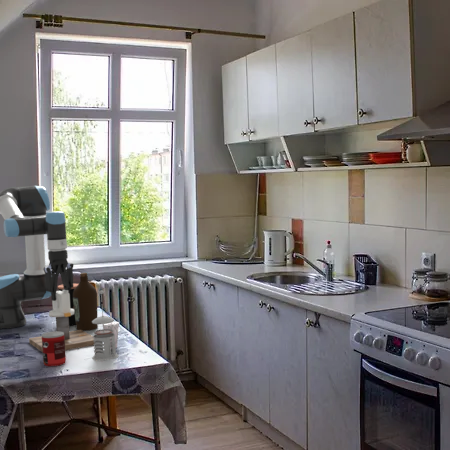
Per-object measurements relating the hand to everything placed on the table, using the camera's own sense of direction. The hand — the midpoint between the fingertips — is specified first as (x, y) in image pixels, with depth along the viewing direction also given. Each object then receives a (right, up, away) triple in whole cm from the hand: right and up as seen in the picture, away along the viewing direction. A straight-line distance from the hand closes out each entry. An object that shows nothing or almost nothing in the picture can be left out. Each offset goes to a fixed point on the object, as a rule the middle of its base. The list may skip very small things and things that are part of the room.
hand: (61, 306), depth 264 cm
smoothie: (+22, -15, -9) cm, 28 cm away
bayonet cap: (0, -3, 0) cm, 3 cm away
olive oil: (+5, -13, +27) cm, 30 cm away
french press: (+23, -16, -23) cm, 36 cm away
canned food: (+5, -17, -28) cm, 33 cm away
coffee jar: (-5, -13, +39) cm, 41 cm away
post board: (+1, -15, +1) cm, 15 cm away
